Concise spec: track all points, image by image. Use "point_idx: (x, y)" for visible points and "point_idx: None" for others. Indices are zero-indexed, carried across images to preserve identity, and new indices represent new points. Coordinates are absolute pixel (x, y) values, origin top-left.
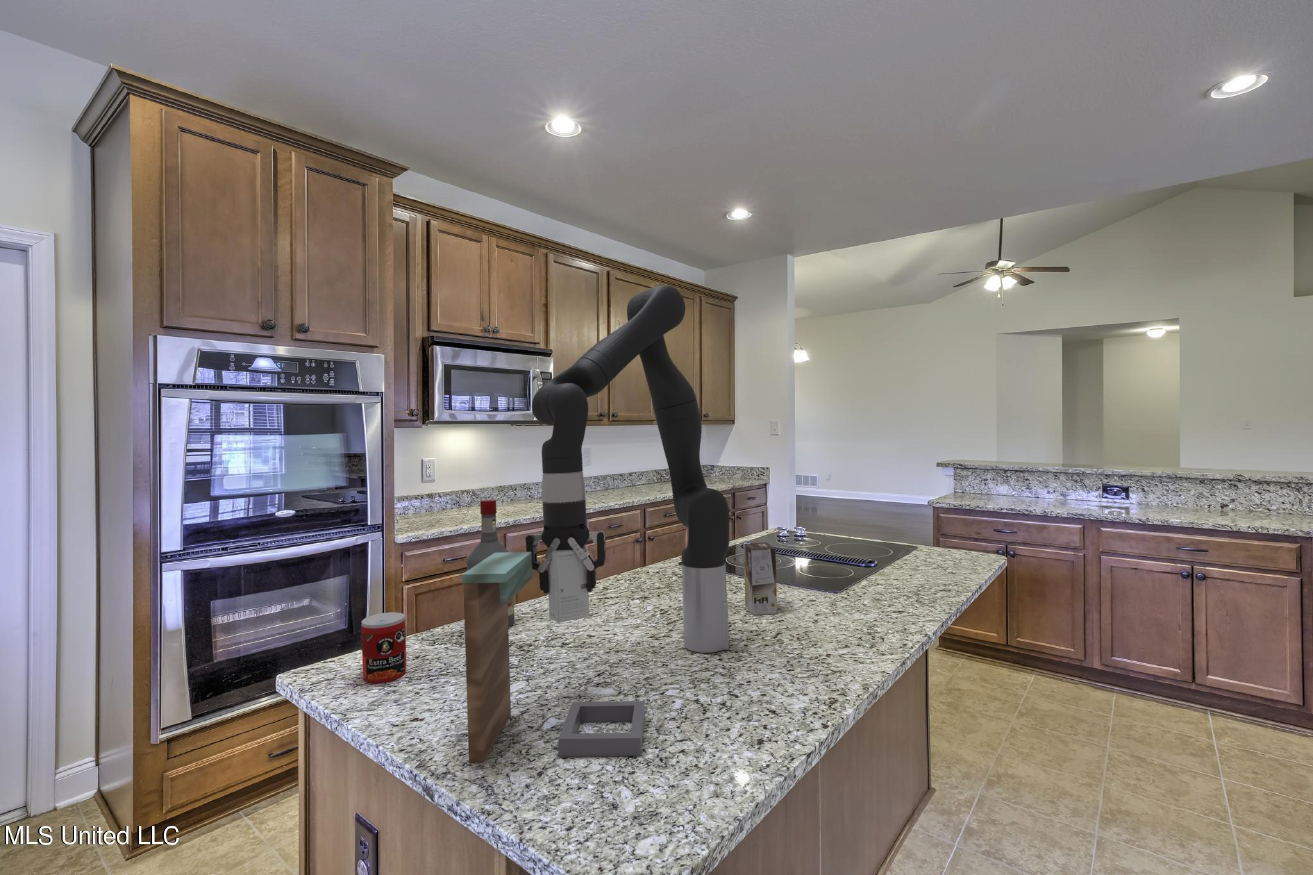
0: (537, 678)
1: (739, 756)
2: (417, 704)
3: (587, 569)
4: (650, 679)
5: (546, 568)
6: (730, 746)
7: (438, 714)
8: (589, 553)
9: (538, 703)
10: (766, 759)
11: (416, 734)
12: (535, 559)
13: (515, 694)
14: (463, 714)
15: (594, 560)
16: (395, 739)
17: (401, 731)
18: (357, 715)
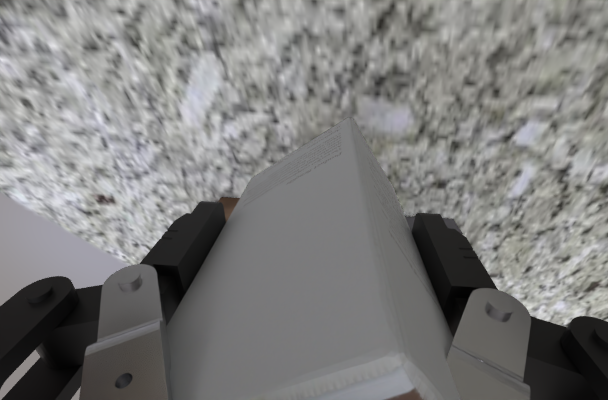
0: (235, 40)
1: (546, 309)
2: (66, 151)
3: (442, 313)
4: (503, 63)
5: (170, 312)
6: (546, 292)
7: (126, 187)
8: (524, 389)
9: (272, 162)
10: (574, 316)
11: (134, 237)
12: (37, 333)
13: (218, 123)
14: (164, 190)
15: (528, 367)
16: (116, 245)
17: (109, 228)
18: (5, 181)
